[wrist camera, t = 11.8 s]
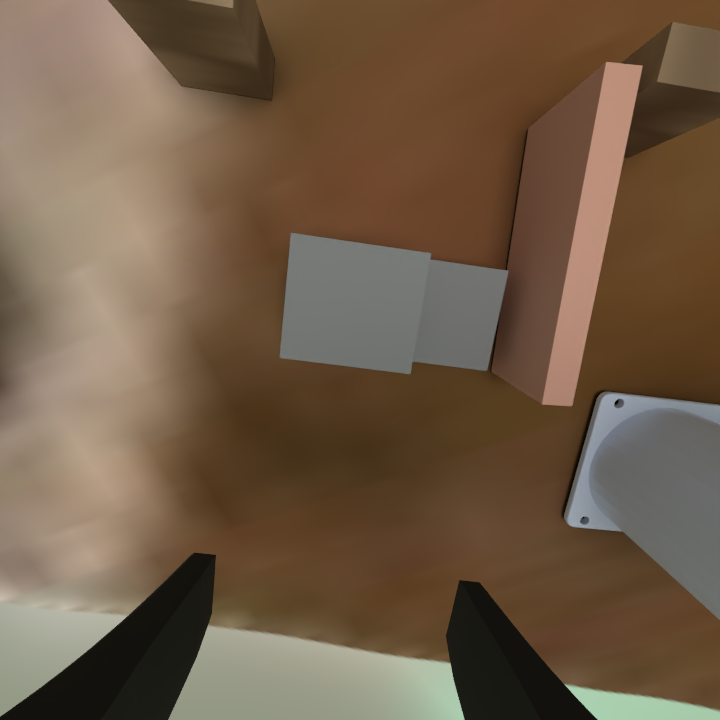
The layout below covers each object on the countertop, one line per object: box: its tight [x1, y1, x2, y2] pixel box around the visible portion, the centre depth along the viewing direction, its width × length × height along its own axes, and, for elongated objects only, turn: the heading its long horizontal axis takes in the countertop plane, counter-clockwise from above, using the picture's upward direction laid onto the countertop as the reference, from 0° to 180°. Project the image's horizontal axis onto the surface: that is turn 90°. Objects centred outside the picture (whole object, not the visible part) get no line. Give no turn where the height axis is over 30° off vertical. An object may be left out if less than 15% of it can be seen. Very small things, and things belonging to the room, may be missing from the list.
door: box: [491, 62, 643, 406], centre depth 15 cm, size 11×1×5 cm, turn 176°
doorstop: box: [280, 233, 509, 374], centre depth 16 cm, size 9×4×5 cm, turn 82°
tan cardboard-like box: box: [108, 0, 720, 157], centre depth 13 cm, size 20×2×6 cm, turn 83°
